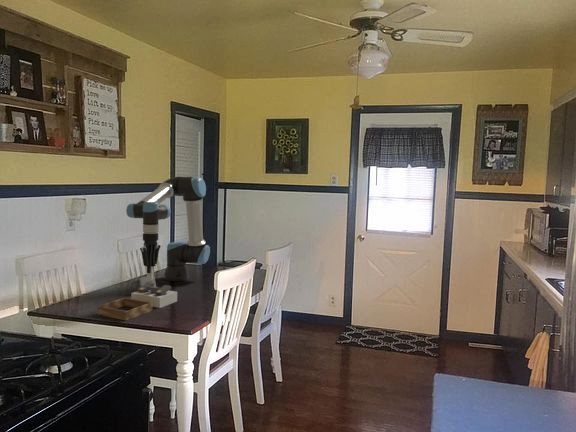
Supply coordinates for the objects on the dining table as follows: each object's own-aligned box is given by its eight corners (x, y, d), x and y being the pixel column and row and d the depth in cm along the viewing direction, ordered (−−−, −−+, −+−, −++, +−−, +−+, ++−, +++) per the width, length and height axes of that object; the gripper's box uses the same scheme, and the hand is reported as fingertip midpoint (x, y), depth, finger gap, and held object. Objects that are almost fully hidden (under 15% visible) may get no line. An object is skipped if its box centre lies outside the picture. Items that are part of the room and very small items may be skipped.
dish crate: (124, 305, 241) (124, 297, 240) (152, 310, 234) (152, 302, 233) (97, 314, 225) (97, 306, 224) (126, 320, 218) (126, 311, 217)
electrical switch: (142, 295, 261) (141, 278, 261) (137, 294, 265) (136, 277, 264) (157, 292, 269) (156, 275, 268) (151, 291, 272) (150, 275, 272)
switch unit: (149, 296, 258) (149, 285, 258) (177, 301, 251) (177, 289, 251) (131, 303, 246) (131, 291, 245) (159, 307, 238) (159, 296, 238)
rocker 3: (165, 287, 250) (164, 284, 249) (171, 288, 248) (170, 285, 248) (155, 294, 243) (154, 291, 243) (161, 295, 241) (161, 292, 241)
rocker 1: (148, 284, 254) (147, 282, 254) (154, 285, 253) (153, 283, 252) (138, 291, 247) (137, 289, 247) (144, 292, 246) (143, 289, 245)
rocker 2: (156, 290, 252) (156, 286, 252) (162, 290, 250) (162, 287, 251) (146, 289, 245) (146, 286, 245) (152, 290, 243) (152, 287, 243)
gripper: (153, 231, 250) (152, 276, 252) (135, 233, 238) (135, 280, 240) (164, 232, 247) (164, 277, 249) (147, 234, 235) (147, 282, 237)
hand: (150, 279), depth 244 cm, fingers closed
